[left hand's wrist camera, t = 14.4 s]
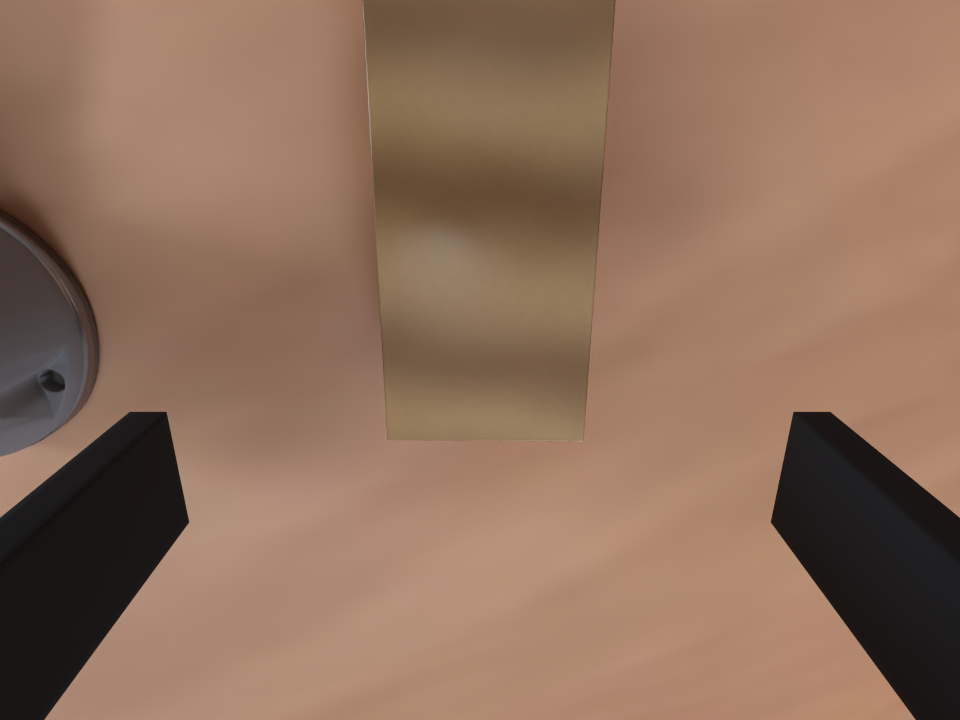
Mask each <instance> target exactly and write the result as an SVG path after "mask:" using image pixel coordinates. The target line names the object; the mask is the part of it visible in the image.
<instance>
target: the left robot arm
mask: <svg viewBox="0 0 960 720" xmlns="http://www.w3.org/2000/svg"><path fill="white" fill-rule="evenodd" d="M98 363H99V344H98V335H97V331H96V326H95V322H94V319H93V316H92V312H91V310H90V307H89V305H88V302H87V300H86V298H85V296H84V294H83V292H82V290H81V288H80V286H79V285H78V283H77V281H76V280H75V278H74V277H73V275H72V274H71V272H70V271H69V270H68V268H67V267H66V266H65V264H64V263H63V262H62V260H61V259H60V258H59V257H58V256H57V255H56V254H55V253H54V251H53V250H52V249H51V248H50V247H49V246H48V245H47V244H46V243H45V242H43V241H42V240H41V239H40V238H39V237H38V236H37V235H35V234H34V233H33V232H32V231H31V230H29V229H28V228H27V227H25V226H24V225H22V224H21V223H20V222H18V221H17V220H15V219H14V218H12V217H10V216H9V215H7V214H5V213H4V212H2V211H0V456H4V455H8V454H11V453H14V452H17V451H19V450H22V449H24V448H26V447H28V446H31V445H33V444H35V443H37V442H39V441H41V440H43V439H45V438H46V437H48V436H49V435H50V434H52V433H53V432H55V431H56V430H58V429H59V428H61V427H62V426H63V425H65V424H66V423H67V422H69V421H70V420H71V419H72V418H73V417H74V416H75V415H76V414H77V413H78V412H79V411H80V410H81V408H82V407H83V405H84V404H85V402H86V401H87V399H88V397H89V395H90V393H91V391H92V389H93V386H94V383H95V380H96V376H97V371H98ZM188 523H189V519H188V514H187V510H186V505H185V500H184V495H183V490H182V485H181V480H180V476H179V471H178V466H177V461H176V456H175V451H174V446H173V442H172V437H171V432H170V427H169V422H168V417H167V413H166V412H129V413H128V414H127V415H126V416H124V417H123V418H122V419H121V420H119V421H118V422H117V423H116V424H114V425H113V426H112V427H111V428H110V429H108V430H107V431H106V432H105V433H103V434H102V435H101V436H100V437H99V438H97V439H96V440H95V441H94V442H92V443H91V444H90V445H89V446H88V447H86V448H85V449H84V450H83V451H81V452H80V453H79V454H78V455H77V456H75V457H74V458H73V459H72V460H70V461H69V462H68V463H67V464H66V465H64V466H63V467H62V468H61V469H59V470H58V471H57V472H56V473H55V474H53V475H52V476H51V477H50V478H48V479H47V480H46V481H45V482H43V483H42V484H41V485H40V486H39V487H37V488H36V489H35V490H34V491H32V492H31V493H30V494H29V495H28V496H26V497H25V498H24V499H23V500H21V501H20V502H19V503H18V504H17V505H15V506H14V507H13V508H12V509H10V510H9V511H8V512H7V513H6V514H4V515H3V516H2V517H1V518H0V720H44V719H45V718H46V717H47V715H48V714H49V712H50V711H51V710H52V708H53V707H54V706H55V704H56V703H57V702H58V700H59V699H60V697H61V696H62V695H63V693H64V692H65V691H66V689H67V688H68V687H69V685H70V684H71V682H72V681H73V680H74V678H75V677H76V676H77V674H78V673H79V672H80V670H81V669H82V667H83V666H84V665H85V663H86V662H87V661H88V659H89V658H90V657H91V655H92V654H93V653H94V651H95V650H96V648H97V647H98V646H99V644H100V643H101V642H102V640H103V639H104V638H105V636H106V635H107V633H108V632H109V631H110V629H111V628H112V627H113V625H114V624H115V623H116V621H117V620H118V618H119V617H120V616H121V614H122V613H123V612H124V610H125V609H126V608H127V606H128V605H129V603H130V602H131V601H132V599H133V598H134V597H135V595H136V594H137V593H138V591H139V590H140V588H141V587H142V586H143V584H144V583H145V582H146V580H147V579H148V578H149V576H150V575H151V573H152V572H153V571H154V569H155V568H156V567H157V565H158V564H159V563H160V561H161V560H162V559H163V557H164V556H165V554H166V553H167V552H168V550H169V549H170V548H171V546H172V545H173V544H174V542H175V541H176V539H177V538H178V537H179V535H180V534H181V533H182V531H183V530H184V529H185V527H186V526H187V524H188ZM771 523H772V524H773V526H774V527H775V529H776V530H777V531H778V533H779V534H780V535H781V537H782V538H783V539H784V541H785V542H786V544H787V545H788V546H789V548H790V549H791V550H792V552H793V553H794V554H795V556H796V557H797V559H798V560H799V561H800V563H801V564H802V565H803V567H804V568H805V569H806V571H807V572H808V573H809V575H810V576H811V578H812V579H813V580H814V582H815V583H816V584H817V586H818V587H819V588H820V590H821V591H822V593H823V594H824V595H825V597H826V598H827V599H828V601H829V602H830V603H831V605H832V606H833V608H834V609H835V610H836V612H837V613H838V614H839V616H840V617H841V618H842V620H843V621H844V623H845V624H846V625H847V627H848V628H849V629H850V631H851V632H852V633H853V635H854V636H855V638H856V639H857V640H858V642H859V643H860V644H861V646H862V647H863V648H864V650H865V651H866V653H867V654H868V655H869V657H870V658H871V659H872V661H873V662H874V663H875V665H876V666H877V667H878V669H879V670H880V672H881V673H882V674H883V676H884V677H885V678H886V680H887V681H888V682H889V684H890V685H891V687H892V688H893V689H894V691H895V692H896V693H897V695H898V696H899V697H900V699H901V700H902V702H903V703H904V704H905V706H906V707H907V708H908V710H909V711H910V712H911V714H912V715H913V717H914V718H915V719H916V720H960V518H959V517H958V516H957V515H956V514H954V513H953V512H952V511H951V510H950V509H948V508H947V507H946V506H945V505H943V504H942V503H941V502H940V501H939V500H937V499H936V498H935V497H934V496H932V495H931V494H930V493H929V492H928V491H926V490H925V489H924V488H923V487H921V486H920V485H919V484H918V483H917V482H915V481H914V480H913V479H912V478H910V477H909V476H908V475H907V474H905V473H904V472H903V471H902V470H901V469H899V468H898V467H897V466H896V465H894V464H893V463H892V462H891V461H890V460H888V459H887V458H886V457H885V456H883V455H882V454H881V453H880V452H879V451H877V450H876V449H875V448H874V447H872V446H871V445H870V444H869V443H868V442H866V441H865V440H864V439H863V438H861V437H860V436H859V435H858V434H857V433H855V432H854V431H853V430H852V429H850V428H849V427H848V426H847V425H846V424H844V423H843V422H842V421H841V420H839V419H838V418H837V417H836V416H834V415H833V414H832V413H831V412H793V417H792V422H791V427H790V432H789V437H788V442H787V446H786V451H785V456H784V461H783V466H782V471H781V476H780V480H779V485H778V490H777V495H776V500H775V505H774V510H773V514H772V519H771Z"/></svg>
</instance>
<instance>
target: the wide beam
mask: <svg viewBox="0 0 960 720" xmlns="http://www.w3.org/2000/svg"><path fill="white" fill-rule="evenodd" d="M362 2H363V19H364V37H365V54H366V72H367V89H368V107H369V124H370V142H371V159H372V177H373V194H374V212H375V230H376V247H377V265H378V282H379V300H380V317H381V335H382V352H383V370H384V387H385V405H386V422H387V439H388V440H460V441H583V440H584V426H585V412H586V399H587V385H588V371H589V357H590V343H591V330H592V316H593V302H594V288H595V274H596V261H597V247H598V233H599V219H600V205H601V192H602V178H603V164H604V150H605V136H606V123H607V109H608V95H609V81H610V67H611V54H612V40H613V26H614V12H615V0H362Z"/></svg>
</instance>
